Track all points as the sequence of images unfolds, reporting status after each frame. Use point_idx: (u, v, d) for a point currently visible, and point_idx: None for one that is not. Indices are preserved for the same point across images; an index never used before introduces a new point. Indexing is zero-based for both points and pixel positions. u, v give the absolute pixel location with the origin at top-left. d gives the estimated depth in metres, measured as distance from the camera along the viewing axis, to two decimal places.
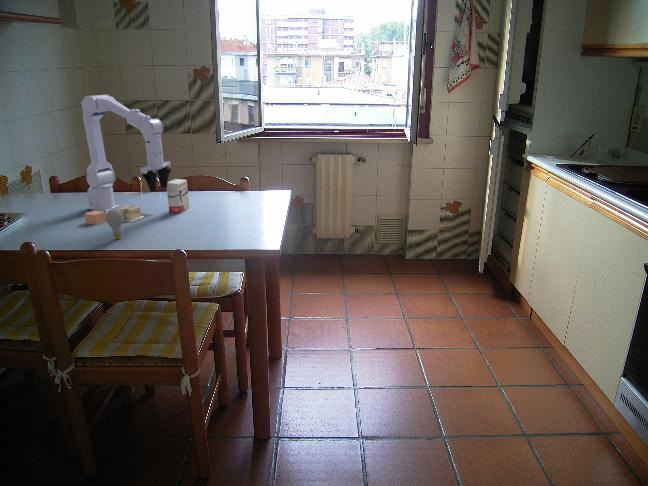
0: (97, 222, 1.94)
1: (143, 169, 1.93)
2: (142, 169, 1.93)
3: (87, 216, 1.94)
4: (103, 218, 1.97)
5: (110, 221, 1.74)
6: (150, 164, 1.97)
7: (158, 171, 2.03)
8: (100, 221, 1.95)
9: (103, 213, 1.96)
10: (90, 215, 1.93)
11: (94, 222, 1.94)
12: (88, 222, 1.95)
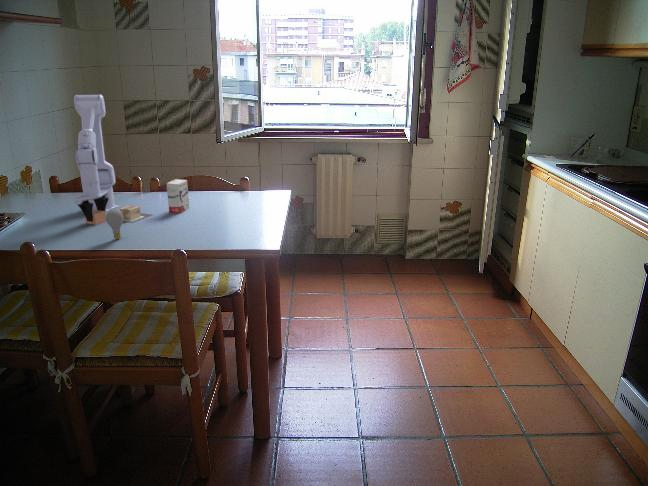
0: (97, 222, 1.94)
1: (77, 200, 1.87)
2: (76, 200, 1.87)
3: None
4: (103, 217, 1.96)
5: (110, 221, 1.74)
6: (85, 194, 1.91)
7: (95, 200, 1.97)
8: (100, 221, 1.95)
9: (103, 213, 1.96)
10: None
11: (94, 222, 1.94)
12: (88, 222, 1.95)
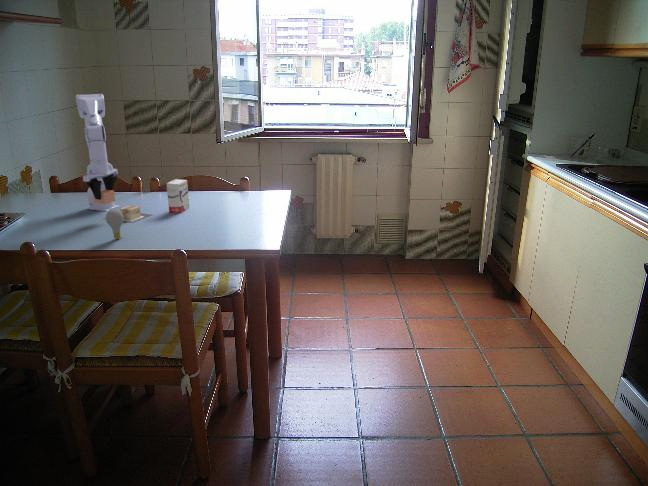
0: (105, 200, 1.93)
1: (85, 177, 1.86)
2: (84, 177, 1.86)
3: None
4: (112, 197, 1.96)
5: (110, 221, 1.74)
6: (94, 172, 1.90)
7: (104, 179, 1.96)
8: (109, 200, 1.94)
9: (112, 192, 1.95)
10: None
11: (102, 200, 1.93)
12: (96, 200, 1.94)
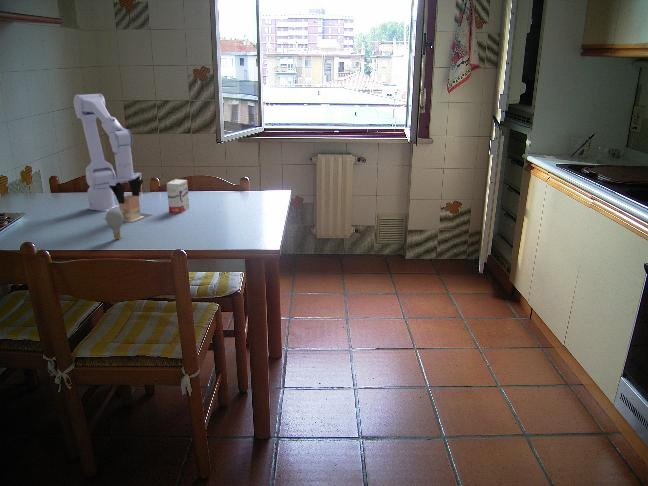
0: (131, 206, 1.97)
1: (112, 181, 1.90)
2: (111, 181, 1.90)
3: None
4: (137, 202, 2.00)
5: (110, 221, 1.74)
6: (119, 176, 1.94)
7: (130, 182, 2.01)
8: (134, 205, 1.99)
9: (136, 197, 2.00)
10: (124, 199, 1.97)
11: (128, 206, 1.97)
12: (122, 206, 1.98)
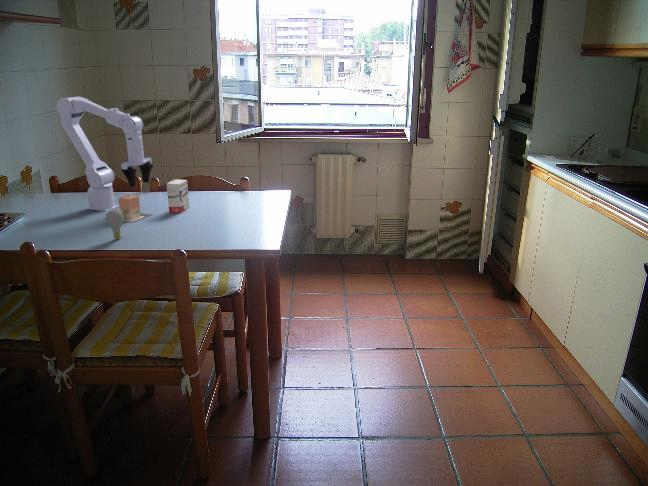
0: (131, 206, 1.97)
1: (124, 165, 2.00)
2: (123, 165, 2.00)
3: (121, 200, 1.98)
4: (137, 202, 2.00)
5: (110, 221, 1.74)
6: (131, 160, 2.04)
7: (140, 166, 2.11)
8: (134, 205, 1.99)
9: (136, 197, 2.00)
10: (124, 199, 1.97)
11: (128, 206, 1.97)
12: (122, 206, 1.98)
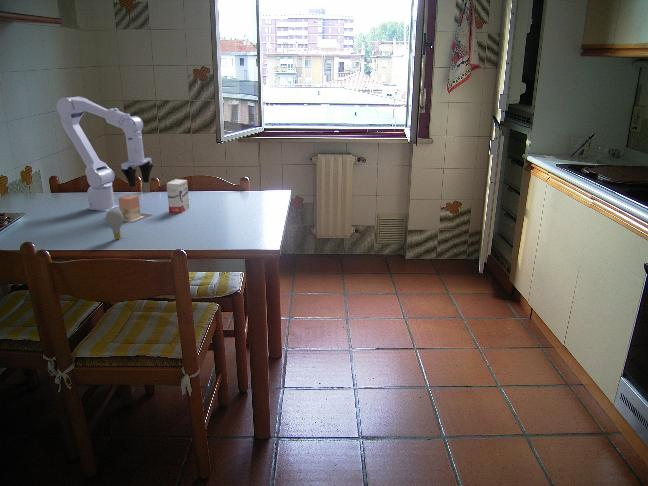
0: (131, 206, 1.97)
1: (124, 165, 2.00)
2: (123, 165, 2.00)
3: (121, 200, 1.98)
4: (137, 202, 2.00)
5: (110, 221, 1.74)
6: (131, 160, 2.04)
7: (140, 166, 2.11)
8: (134, 205, 1.99)
9: (136, 197, 2.00)
10: (124, 199, 1.97)
11: (128, 206, 1.97)
12: (122, 206, 1.98)
